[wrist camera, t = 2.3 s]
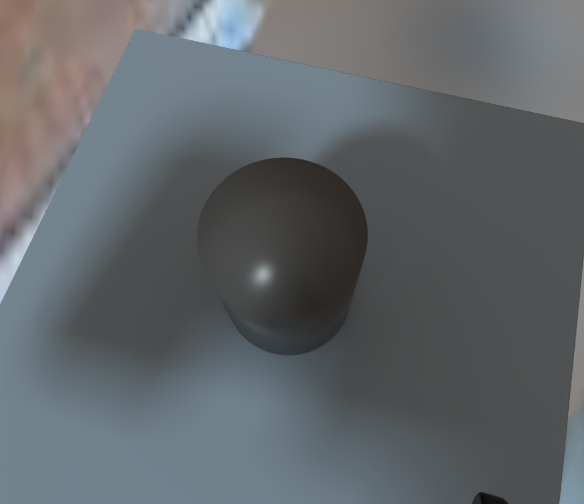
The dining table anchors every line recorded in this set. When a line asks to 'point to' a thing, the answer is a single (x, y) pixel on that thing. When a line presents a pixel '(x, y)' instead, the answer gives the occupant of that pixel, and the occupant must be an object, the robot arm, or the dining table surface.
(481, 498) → the robot arm
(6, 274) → the dining table surface
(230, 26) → the dining table surface
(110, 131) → the lid
